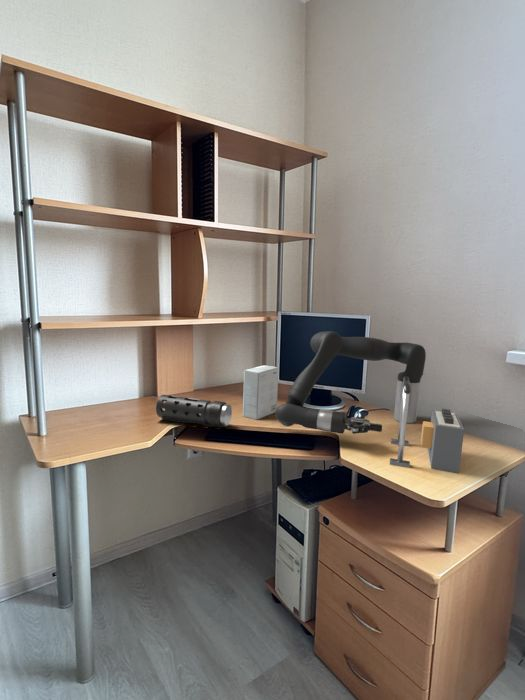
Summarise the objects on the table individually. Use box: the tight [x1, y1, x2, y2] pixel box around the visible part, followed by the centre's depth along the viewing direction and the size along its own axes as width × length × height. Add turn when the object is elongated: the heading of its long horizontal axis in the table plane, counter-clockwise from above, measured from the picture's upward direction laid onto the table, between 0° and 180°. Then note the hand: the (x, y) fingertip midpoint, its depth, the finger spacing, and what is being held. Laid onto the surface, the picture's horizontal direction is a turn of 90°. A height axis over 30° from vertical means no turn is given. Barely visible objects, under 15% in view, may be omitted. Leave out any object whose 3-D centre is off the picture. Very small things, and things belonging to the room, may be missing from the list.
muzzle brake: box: [155, 394, 233, 428], centre depth 164 cm, size 10×28×10 cm, turn 73°
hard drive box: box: [242, 364, 279, 421], centre depth 180 cm, size 16×8×20 cm, turn 146°
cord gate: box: [389, 376, 411, 468], centre depth 143 cm, size 22×6×25 cm, turn 162°
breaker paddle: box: [420, 421, 434, 449], centre depth 141 cm, size 6×5×7 cm
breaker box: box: [427, 408, 465, 474], centre depth 140 cm, size 18×8×16 cm, turn 162°
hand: (381, 428), depth 146 cm, fingers closed
